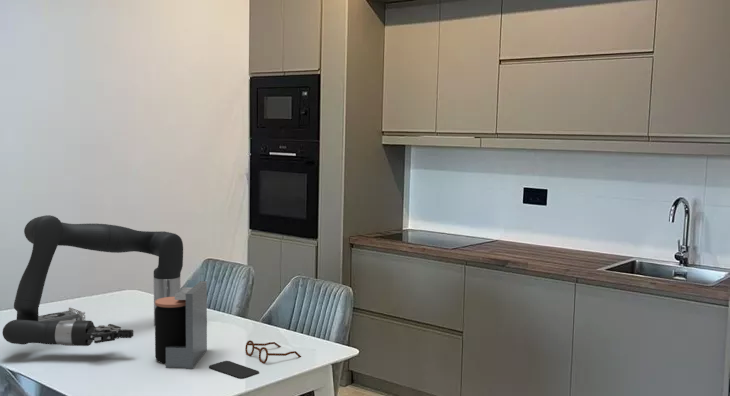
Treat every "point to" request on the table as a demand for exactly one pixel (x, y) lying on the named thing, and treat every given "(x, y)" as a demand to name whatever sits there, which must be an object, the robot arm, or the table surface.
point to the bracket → (191, 328)
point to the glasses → (266, 350)
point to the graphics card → (63, 316)
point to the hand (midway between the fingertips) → (132, 333)
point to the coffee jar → (169, 325)
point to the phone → (233, 369)
